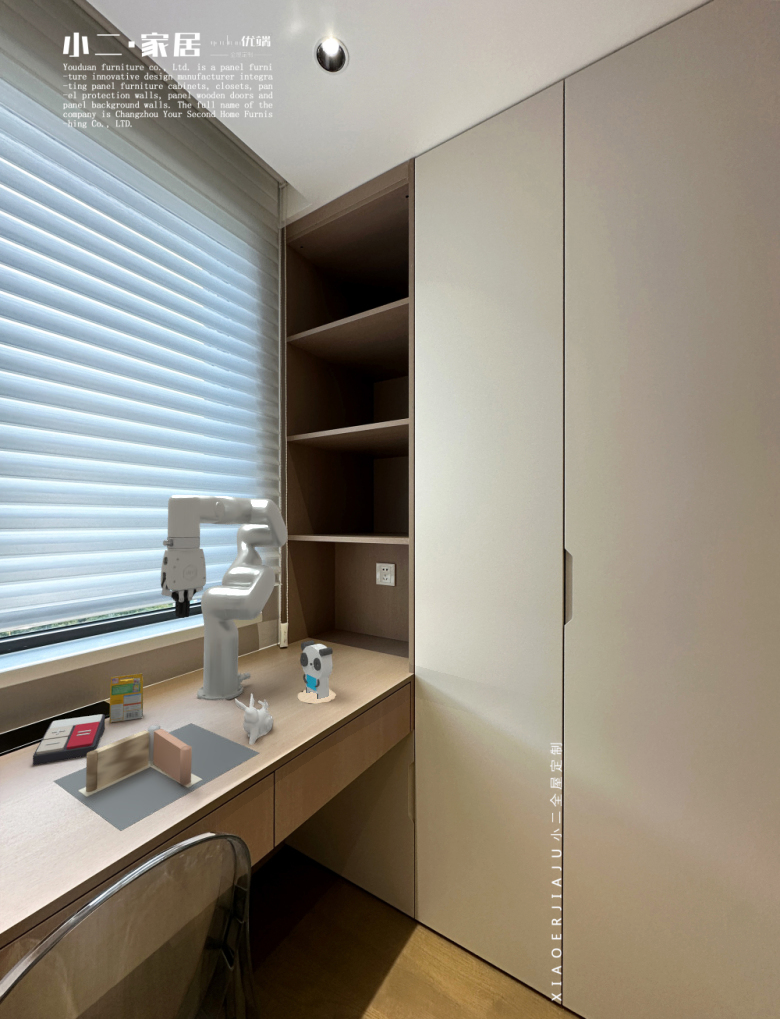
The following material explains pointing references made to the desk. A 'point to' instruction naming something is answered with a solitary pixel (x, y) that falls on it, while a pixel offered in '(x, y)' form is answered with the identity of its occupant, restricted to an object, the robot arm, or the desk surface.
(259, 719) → the rabbit figurine
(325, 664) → the panda figurine
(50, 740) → the calculator
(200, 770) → the mat
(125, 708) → the crayon box
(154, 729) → the fence swing panel
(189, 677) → the desk surface
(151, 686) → the desk surface
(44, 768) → the desk surface
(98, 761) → the panel
